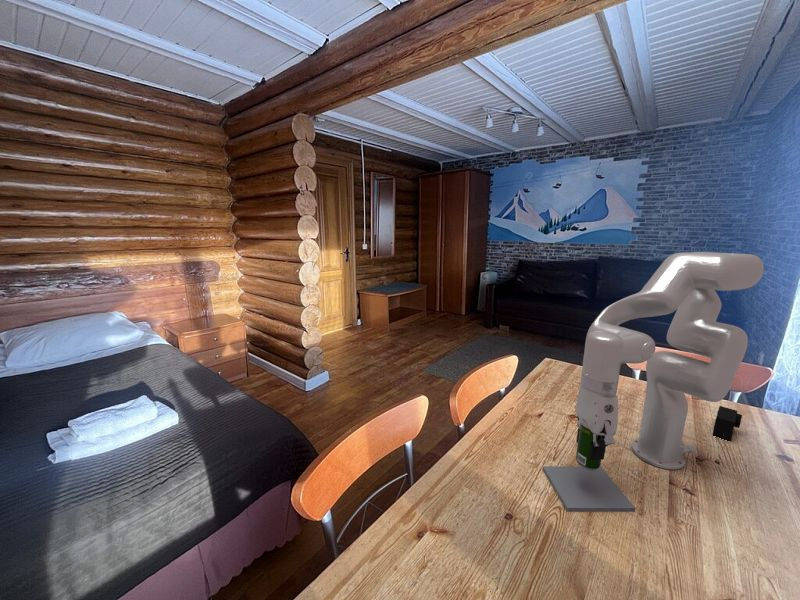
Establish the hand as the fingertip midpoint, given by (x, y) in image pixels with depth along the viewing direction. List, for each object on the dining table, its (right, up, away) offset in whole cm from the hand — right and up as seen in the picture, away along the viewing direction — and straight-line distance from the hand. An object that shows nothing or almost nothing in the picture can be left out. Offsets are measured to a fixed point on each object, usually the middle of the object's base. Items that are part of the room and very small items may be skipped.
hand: (589, 450), depth 82 cm
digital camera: (+59, -6, +25) cm, 64 cm away
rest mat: (0, -11, +2) cm, 11 cm away
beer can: (0, -4, +1) cm, 4 cm away
